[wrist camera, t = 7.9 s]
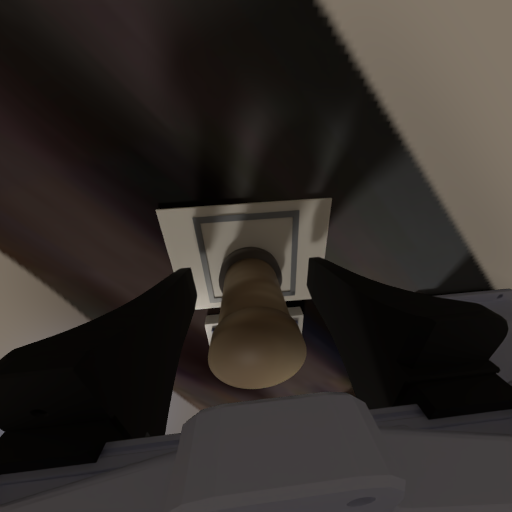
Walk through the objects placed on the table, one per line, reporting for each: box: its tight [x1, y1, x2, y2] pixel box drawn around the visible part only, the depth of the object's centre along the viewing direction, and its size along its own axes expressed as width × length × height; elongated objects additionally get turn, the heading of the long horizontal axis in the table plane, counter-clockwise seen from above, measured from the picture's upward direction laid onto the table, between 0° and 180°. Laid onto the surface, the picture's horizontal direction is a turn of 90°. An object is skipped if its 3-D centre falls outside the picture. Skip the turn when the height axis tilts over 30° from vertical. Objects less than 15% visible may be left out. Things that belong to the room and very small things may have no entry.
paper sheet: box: [156, 198, 332, 310], centre depth 13 cm, size 11×8×1 cm
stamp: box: [208, 247, 306, 389], centre depth 11 cm, size 4×4×7 cm
